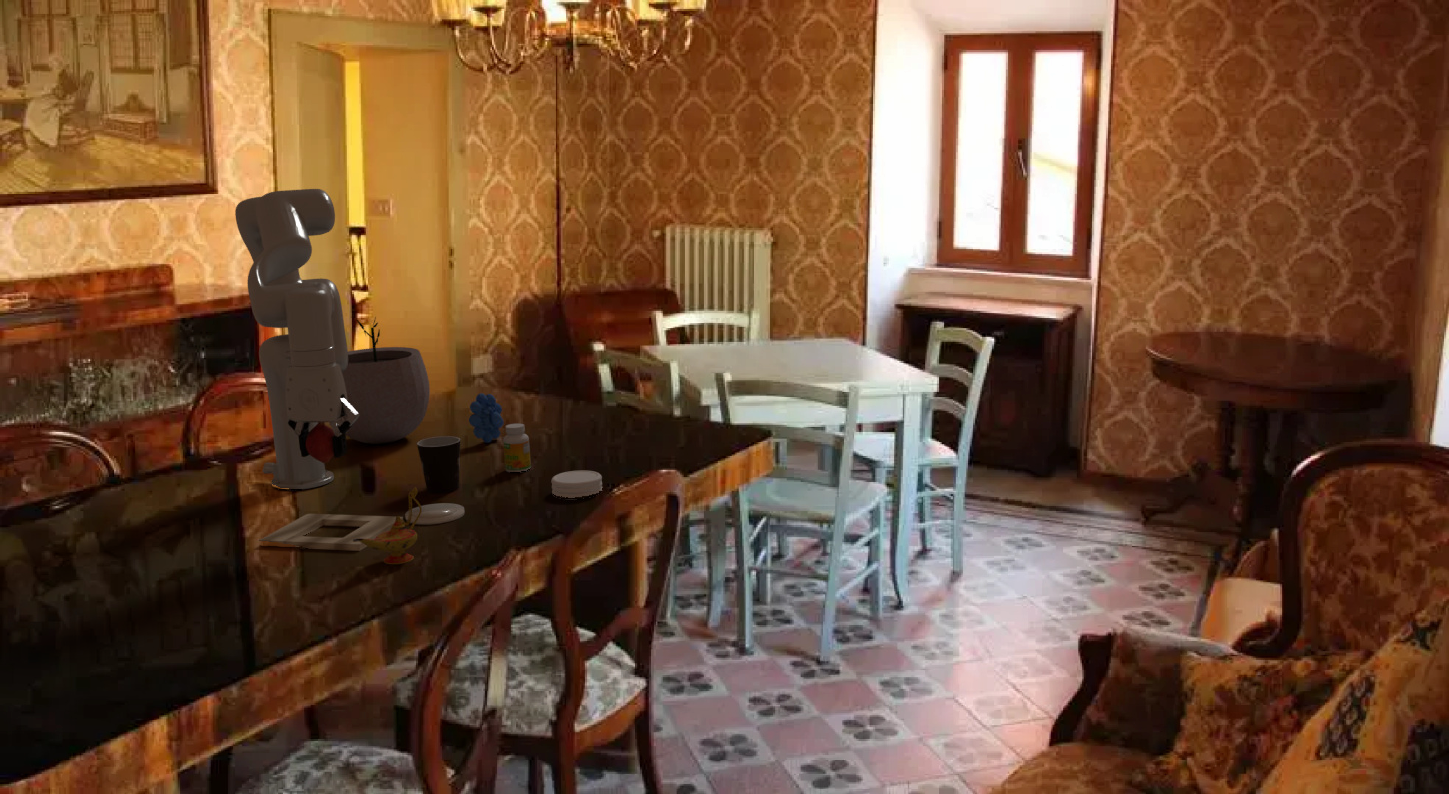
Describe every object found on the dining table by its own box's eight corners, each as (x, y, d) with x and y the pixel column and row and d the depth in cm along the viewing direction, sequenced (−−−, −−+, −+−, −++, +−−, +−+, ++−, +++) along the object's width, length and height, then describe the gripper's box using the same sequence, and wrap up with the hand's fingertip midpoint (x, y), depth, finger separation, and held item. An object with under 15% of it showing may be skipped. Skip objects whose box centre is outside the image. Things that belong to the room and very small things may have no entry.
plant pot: (450, 429, 321) (439, 307, 314) (406, 454, 298) (393, 323, 291) (361, 428, 326) (348, 308, 320) (310, 453, 303) (295, 324, 297)
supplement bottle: (500, 472, 279) (497, 428, 277) (514, 465, 284) (510, 422, 281) (522, 474, 277) (519, 429, 275) (535, 467, 282) (532, 423, 279)
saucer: (394, 523, 246) (394, 518, 246) (422, 506, 256) (421, 501, 256) (448, 525, 243) (448, 520, 243) (474, 508, 253) (473, 503, 253)
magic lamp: (341, 578, 217) (334, 514, 215) (408, 544, 233) (402, 484, 231) (374, 582, 214) (368, 517, 212) (440, 547, 230) (435, 487, 228)
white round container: (613, 491, 261) (612, 474, 261) (575, 503, 254) (573, 486, 254) (580, 483, 268) (578, 467, 267) (542, 495, 261) (540, 478, 260)
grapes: (488, 450, 298) (484, 398, 296) (464, 448, 301) (460, 397, 299) (518, 438, 309) (514, 388, 306) (494, 436, 311) (490, 386, 309)
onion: (311, 469, 234) (306, 425, 233) (305, 462, 239) (300, 419, 238) (344, 464, 237) (339, 420, 235) (337, 457, 242) (333, 414, 240)
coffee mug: (454, 495, 263) (450, 446, 261) (414, 494, 265) (409, 446, 263) (476, 479, 274) (472, 432, 272) (438, 478, 276) (433, 432, 274)
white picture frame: (259, 546, 236) (259, 540, 236) (308, 519, 251) (307, 513, 251) (360, 550, 231) (359, 544, 231) (403, 523, 246) (402, 516, 246)
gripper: (258, 361, 233) (270, 459, 237) (345, 362, 228) (356, 462, 232) (282, 353, 240) (293, 449, 244) (367, 354, 235) (377, 451, 239)
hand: (324, 454), depth 238 cm, fingers closed on onion, 5 cm apart
